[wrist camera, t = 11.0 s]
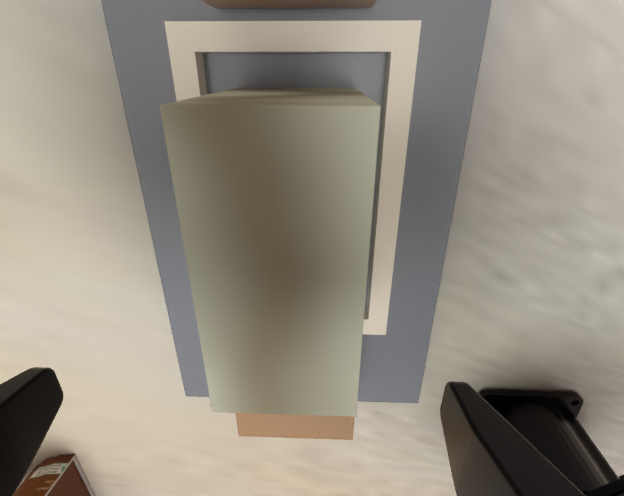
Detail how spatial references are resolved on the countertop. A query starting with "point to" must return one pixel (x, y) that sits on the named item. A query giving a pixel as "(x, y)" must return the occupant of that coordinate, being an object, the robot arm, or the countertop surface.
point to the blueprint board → (389, 165)
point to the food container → (56, 479)
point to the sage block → (277, 241)
